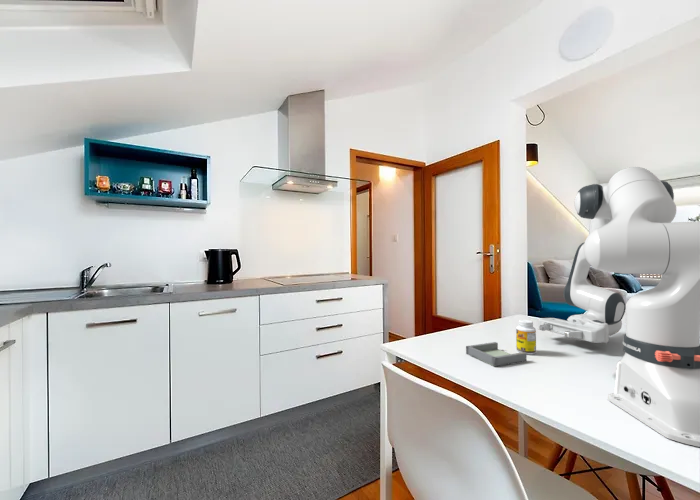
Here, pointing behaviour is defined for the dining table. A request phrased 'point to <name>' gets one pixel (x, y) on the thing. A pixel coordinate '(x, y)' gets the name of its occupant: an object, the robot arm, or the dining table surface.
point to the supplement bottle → (526, 337)
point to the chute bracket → (494, 354)
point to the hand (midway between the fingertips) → (552, 331)
